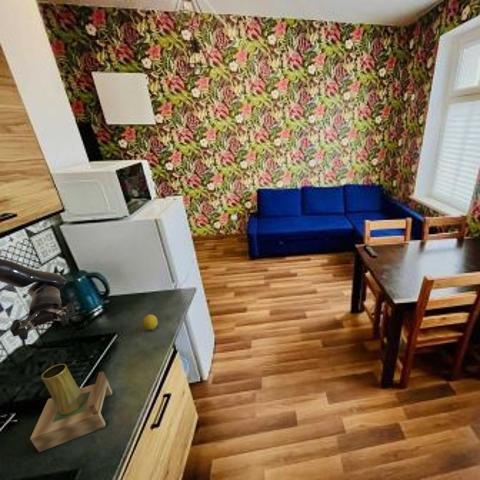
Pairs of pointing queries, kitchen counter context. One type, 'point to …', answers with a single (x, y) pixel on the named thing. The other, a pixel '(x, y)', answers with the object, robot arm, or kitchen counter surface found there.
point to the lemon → (150, 322)
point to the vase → (63, 389)
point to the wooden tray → (72, 417)
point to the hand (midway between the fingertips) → (44, 330)
